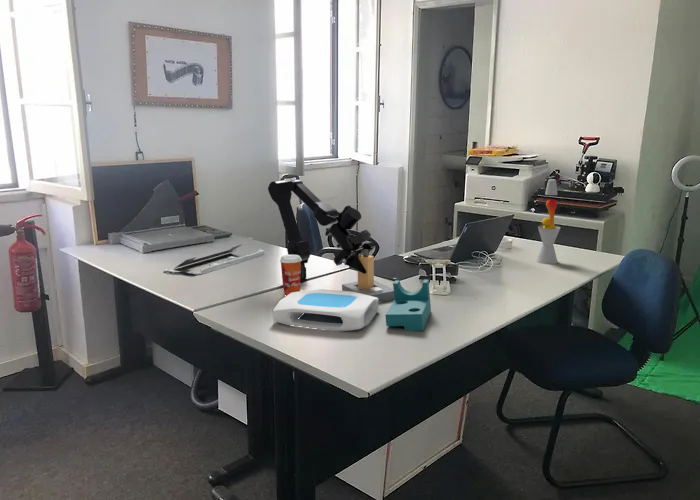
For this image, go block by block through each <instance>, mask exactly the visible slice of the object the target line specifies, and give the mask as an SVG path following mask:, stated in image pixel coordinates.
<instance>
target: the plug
mask: <svg viewBox="0 0 700 500" xmlns="http://www.w3.org/2000/svg"><path fill="white" fill-rule="evenodd" d="M374 257H375V256H374V255H370V254H369V255H368V249H363V255H361V256H359V260H360V262H361V263H362V265H363V266H364V268H365V270H366V274H363V273H362V272H360V271H358V270H357V282H358V288H360V289H362V290H363V289H369V288H374V280H375V276H374V275H375V272H374V271H375V269H374V268H375V267H374V266H375V262H374V261H375V260H374V259H375V258H374Z"/></svg>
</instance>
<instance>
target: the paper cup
mask: <svg viewBox="0 0 700 500" xmlns="http://www.w3.org/2000/svg"><path fill="white" fill-rule="evenodd" d="M301 260H302V259H301V257H300V256H299V255H288V254H285V255H282V256H281V257H280V259H279V262H280V267H281V268H280V269H281V279H282V288H283V296H284V295H286V296H287V295H288V294H290V293H292V292H298V291H301V281H300V275H301ZM286 296H285V297H286Z"/></svg>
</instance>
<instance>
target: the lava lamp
mask: <svg viewBox="0 0 700 500" xmlns="http://www.w3.org/2000/svg"><path fill="white" fill-rule="evenodd" d="M544 195H546V196H558V186H557V180H556V179H554V178H553V179H552V178H551V179H550V178H549V179H548V180H547V184H546V188H545V194H544ZM545 202H546V203H545V206H546V208H547V211H548V215H549V216H548V217H543V219H542V220H541V225H538V226H537V228H538V229H537V230H538V232H539V236H540V239H541V243H542V245H541V248H540V251H539V252H538V255H537V258H536V260H535V261H536V262H537V263H539V264H545V265H554V264H558V259H557V253H556V250H555V245H554V244H555V242H556V239H557V236H558V235H559V232H560V230H561V226H560V225H559V226H558V225H555V212H556V209H557V205H558V203H557V201H556V200H555V199H553V198H552V199H551V198H549V199H548V200H546V201H545Z"/></svg>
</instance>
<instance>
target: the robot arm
mask: <svg viewBox="0 0 700 500" xmlns="http://www.w3.org/2000/svg"><path fill="white" fill-rule="evenodd" d="M267 191H268V194H269V196H270V198H271V200H272V201H273V202H274V203H275V204H276V205H277V207H278V210H279V211H278V212H279V213H280V217H281V219H282V220H281V221H282V223H283V227H284V230H285V233H286V236H287V240H288V242H287V247H286V251H287V255H299V256H300V257H301V259H302V260H301V275H300V282H305V281H308V278H307V267H306V264H308V262H309V258H310V256H311V251H312V249H311V246H310V243H309V241H308V240H309V239H308V240H304V239H303V237H302V236H301V233H300V230H299V227H298V223H297V219H296V216H295V214H294V210H293V207H292V203H291V199H292V195H293V194H294V195H295V196H296V197H298V199H299V200H301V202H302V203H304V204H305V205H306V206H307V207H308V209H310V210H311V212H312V213H313V217H314V219H315V220H316V222H317V223H318V224H319V225H320V226H322V227H325V226H329V225H330V227H327V228H325V233H324V234H325V235H324V236H325V237H328V236H331V237H332V238H333V239H334V240H335V242H336V243H337V244H336V247H337V249H340V248H341V250H340V251H338V253H337V254H336V255H335V256H334V257H333V263H334V264H335V265H336V266H340V265H342V264H343V261H345V262H344V264H343V265H344V266H348V267H350V268H352V269H354V270H355V271H357V272H358V271H360V272H362V273H363V274H366V270H365V268H364V266H363V265H362V263H361V262H360V260H359V256H361V255H363V249H368V255H369V256H370V253H371V252H372V251H373V250H374V249H375V248H376V247H377V246H376V244H375V243H374V241H371V237H372V234H371V232H369V230H367V229H364V230H362V231H360V233H359V234H355V233H351V232H350V231H349V230H352V229H353V228H354V227H355V226H356V225H357V224H358V223H359V222H360V220H361V219H362V214H361V213H360V211H359V210H357V209H356V208H354V207H352V206H351V205H346V206H345V207H344V208H343V210H342V211H341V212H340V211H338V210H337V209H336V208H334V207H333V206H332V205H330V204H328V203H324V202H323V201H322V200H320V198H319V197H318V196H316V195H315V194H314V193H313V192H312V191H311V190H310V189H309V188H308V187H307V186H306V185H305V183H304V182H303V181H302V180H301V179H295V180H290V181H288V180H287V179H282V180H281V179H280V180H275V181H271V182H269V184H268V187H267ZM292 193H293V194H292ZM366 241H367V242H366Z"/></svg>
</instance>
